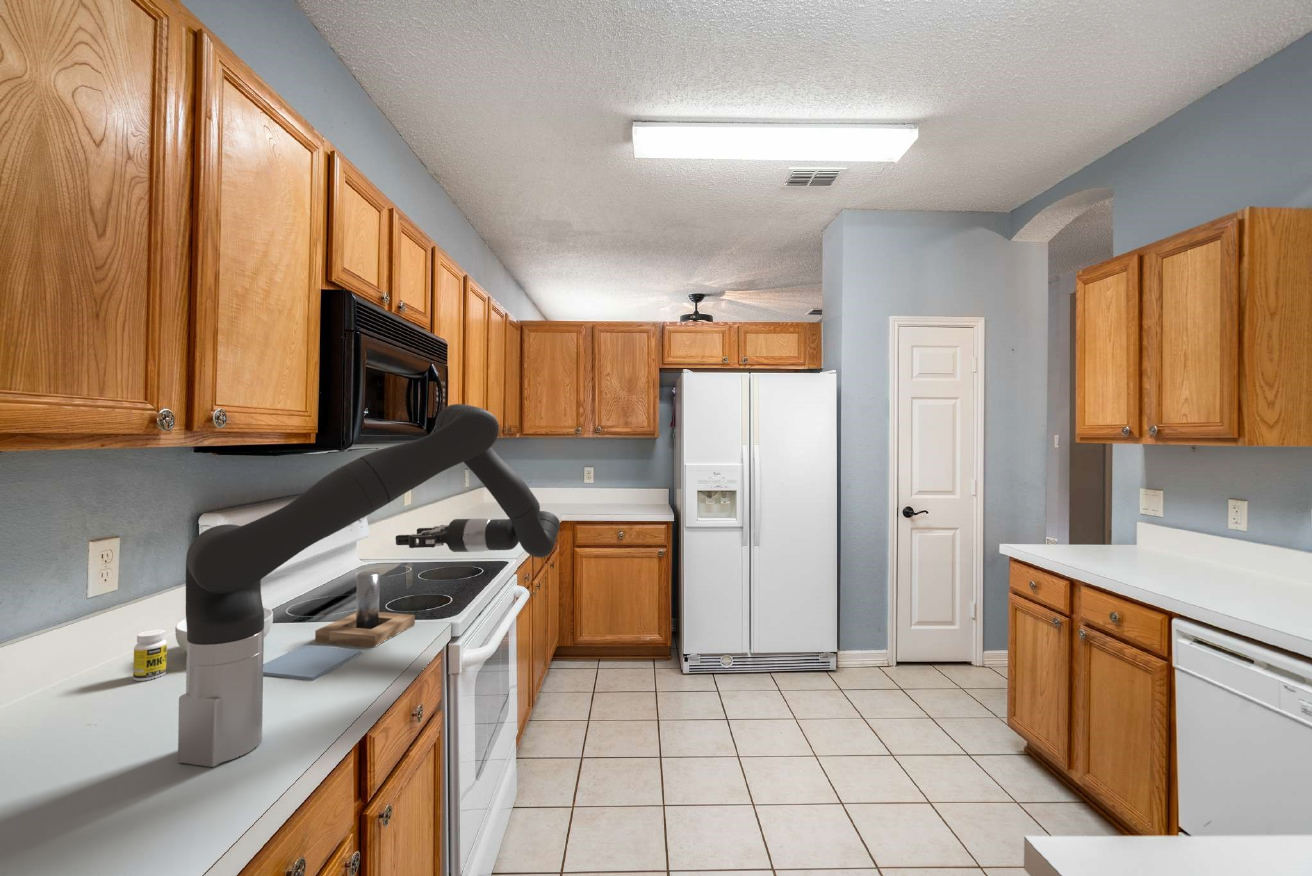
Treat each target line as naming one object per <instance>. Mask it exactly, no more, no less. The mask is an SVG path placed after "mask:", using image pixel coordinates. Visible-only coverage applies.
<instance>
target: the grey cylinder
mask: <svg viewBox="0 0 1312 876" xmlns="http://www.w3.org/2000/svg"><path fill="white" fill-rule="evenodd" d="M380 575H381V574H380V572H378V571H365V572H359V573H357V574H356V603H355V605H356V607H355V610H356V611H355V613H356V627H355V628H363V629H373V628H375V627H377V626H379V612H380V581H381V580H380Z"/></svg>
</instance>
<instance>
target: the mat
mask: <svg viewBox="0 0 1312 876" xmlns="http://www.w3.org/2000/svg"><path fill="white" fill-rule="evenodd" d="M361 654H363V650H362V649H352V648H344V647H343V648H342V647H333V646H332V647H331V646H323V645H313V644H311V645H310V644H303V645H301V646H300V647H297V648H295V649H293V650H291V651H288V652H286V653H284V654H282V655H280V656H277V657H276V658H273V659H271V660H269V661H267V662H265V663H263V676H267V675H268V677H275V678H276V677H278V678H288V679H295V680H303V681H304V680H306V681H314V680H316V679H318V678H319V676H320V677H322V676H323V675H325V674H327V673H328V671H329V672H330V670H331V671H332V670H334V669H336V668H337V666H338V667H339V665H340V666H341V665H343V664H346V663H347V662H349V661H350V660H352V659H355V658H356V657H358V656H359V655H361ZM357 655H358V656H357ZM355 656H356V657H355ZM351 658H352V659H351ZM348 660H349V661H348ZM335 667H336V668H335Z"/></svg>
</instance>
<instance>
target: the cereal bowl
mask: <svg viewBox="0 0 1312 876" xmlns="http://www.w3.org/2000/svg"><path fill="white" fill-rule="evenodd" d="M263 610H264V638H265V637H267V635H268V634H269V633H270V631H271V629H272V627H273V622H274V613H273V610H272V609H271V608H267V607H264V606H263ZM175 639H176V643H177V644H178V645H179V647H180V648H181V649H182V650H184V651H185V652H187V623H186V618H184V619H181V620H180V621H178V623H177V624H176V625H175Z"/></svg>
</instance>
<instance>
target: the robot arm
mask: <svg viewBox="0 0 1312 876" xmlns="http://www.w3.org/2000/svg"><path fill="white" fill-rule="evenodd" d="M434 428H435V429H434V430H435V431H434V432H432V433H430V434H428V435H426V436H424V437H421V438H418V439H415V440H412V441H409V442H405V443H401V444H400V443H399V444H396V445H393V446H387V447H385V448H381V449H378V450H374V451H372V452H369V453H367V454H365V455H362V456H360V457H358V458H356V459H354V460H352V461H350V462H348V463H346V464H345V465H342V466H341V467H338V468H336V469H334V470H333V471H331V472H330V473H328V474H327V475H325V476H324V477H322V478H321V479H320V480H317V482H315V483H314V484H313V485H311V486H310V487H309V488H308V489H307V490H305V491H304V492H303V493H301V495H299V496H298V497H296V499H294V500H292V501H291V502H289V503H288V504H285V506H282V508H279V509H277V510H275V511H273V512H270V513H269V514H267V515H264V516H262V517H260V518H258V519H256V520H252V521H250V522H249V523H246V524H243V525H238V524H229V523H227V524H219V525H216V526H212V527H210V528H208V529H206V530H204V531H202V532H201V533H200V534H198V535H196V536H197V537H195V538H194V540H193V541H192V542H191V544H190V546H189V547H188V549H187V553H186V559H185V560H186V561H185V619H186V623H187V651H186V667H185V670H186V672H185V673H186V675H185V678H186V679H185V681H186V682H185V693H184V694H181V695H180V696H179V698H178V724H177V725H178V726H177V728H178V730H177V733H178V734H177V738H178V739H177V762H178V763H182V764H189V765H196V766H203V767H209V768H214V767H216V766H218V765H220V764H221V763H225V762H228V761H231V760H233V759H237V758H239V756H240V757H242V756H244V755H246V754H248V753H250V752H251V751H253V750H254V749H255V747H256V748H257V747H258V746H259V745H260V744H261V743H262V740H263V712H264V711H263V704H264V702H263V701H264V700H263V699H264V697H263V696H264V695H263V693H264V675H263V664H264V647H265V645H264V644H265V643H264V640H265V637H264V610H263V607H264V606H263V600H262V599H263V598H262V591H261V589H262V588H261V586H262V585H261V583H262V582H261V581H262V579H264V578H265V577H267V576H268V575H269V574H271V573H272V572H274V571H275V570H277V569H278V568H279V567H280V566H282V565H284V564H285V563H287V562H288V561H289V560H291V559H293V558H294V557H295V556H297V555H299V553H301V552H302V551H305V549H307V548H309V547H311V546H312V545H314V544H315V543H318V542H319V541H322V540H324V539H325V538H328V537H329V536H331V535H333V534H335V533H337V532H339V531H341V530H343V529H345V528H347V527H348V526H350V525H352V524H354V523H356V522H357V521H359V520H362V519H363V518H365V517H367V516H369V515H371V514H372V513H375V512H376V511H377V510H379V509H381V508H383V507H384V506H386V505H388V504H390V503H391V502H394V501H395V500H396V499H398V498H399V497H401V496H402V495H404V494H406V493H408V492H410V491H411V490H413V489H415V488H416V487H418V486H420V485H422V484H423V483H425V482H427V481H429V480H430V479H431V478H434V477H435V476H437V475H438V474H441V473H442V472H444V471H447V470H448V469H451V468H453V467H455V466H457V465H459V464H462V463H464V464H465V466H467V468H468V469H470V470H471V472H472V473H473V474H474V475H475V476H476V477H477V479H478V480H479V481H480V482H481V483H482V484H483V485H484V487H485V488H486V490H487V491H488V492H489V493H490V495H491V496H492V497H493V498H494V499H495V501H496V503H497V504H498V505H499V506H500V508H501V509H502V511H504V513H505V515H506V516H507V517H508V518H503V519H502V518H497V519H495V518H493V519H491V518H489V519H488V518H455V519H453V520H451V521H450V522H449V524H448V525H447V524H445V525H443V524H441V525H436V526H432V527H418V528H417V529H416V534H415V533H412V534H398V535H395V544H396V546H408V548H409V549H415V548H420V549H421V548H435V547H441V546H444V545H445V544H446V545H447V547H448V549H449V550H450V551H451V552H453V553H473V552H474V553H475V552H477V553H478V552H479V553H480V552H481V553H483V552H488V551H509V550H510V551H511V550H514V548H516V547H517V546H518V544H520V546H521V547H522V549H523V550H524V551H525V552H526V553H527V554H528V555H529V556H531V557H534V558H538V559H539V558H541V559H542V558H546V557H547V556H549V555H551V553H552V552H553V551H554V547H555V545H556V542H557V537H558V535H559V532H560V527H561V522H560V520H559V517H558V516H557V515H555V514H554V513H551V512H549V511H545V510H541V505H540V503H539V501H538V499H537V498H536V496H535V495H534V493H533V492H532V491H531V489H530V488H529V486H528V485H527V484H526V482H525V481H524V480H523V479H522V478H521V476H520V475H519V474H518V473H517V472H516V471H515V470H514V469H512V467H510V466H509V465H508V464H507V463H506V462H505V461H504V460H503V459H502V458H501V457H500V456H499V455H498V454H497V453H496V451H495V450H494V449H493V448H492V446H493V445H494V444H495V442H496V441H497V438H498V437H499V432H500V426H499V421H498V419H497V418H496V416H495V415H494V414H493V413H491V412H490V411H488V410H486V409H484V408H483V407H478V406H474V405H469V404H464V403H463V404H462V403H453V404H450V405H449V404H448V406H447V405H446V407H444V408H443V409H441V410H440V412H439V413H438V415H437V416H436V419H435V425H434Z"/></svg>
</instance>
